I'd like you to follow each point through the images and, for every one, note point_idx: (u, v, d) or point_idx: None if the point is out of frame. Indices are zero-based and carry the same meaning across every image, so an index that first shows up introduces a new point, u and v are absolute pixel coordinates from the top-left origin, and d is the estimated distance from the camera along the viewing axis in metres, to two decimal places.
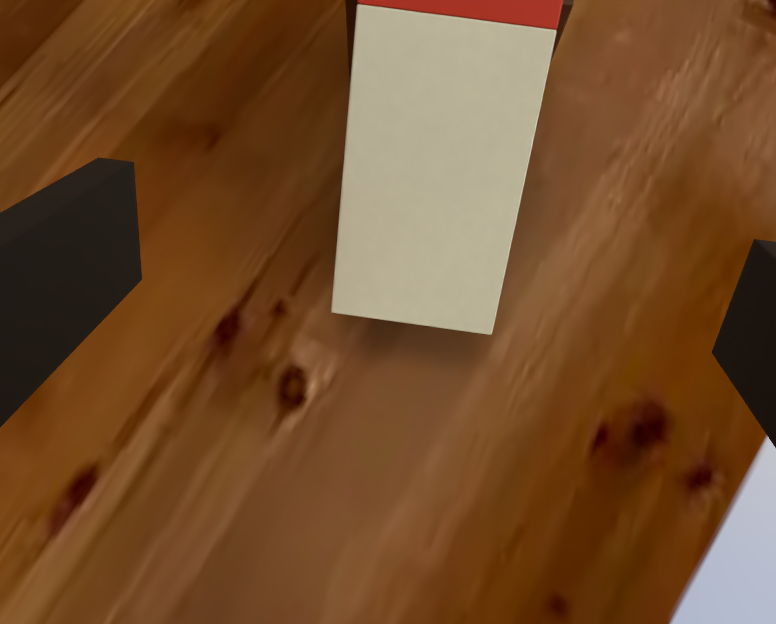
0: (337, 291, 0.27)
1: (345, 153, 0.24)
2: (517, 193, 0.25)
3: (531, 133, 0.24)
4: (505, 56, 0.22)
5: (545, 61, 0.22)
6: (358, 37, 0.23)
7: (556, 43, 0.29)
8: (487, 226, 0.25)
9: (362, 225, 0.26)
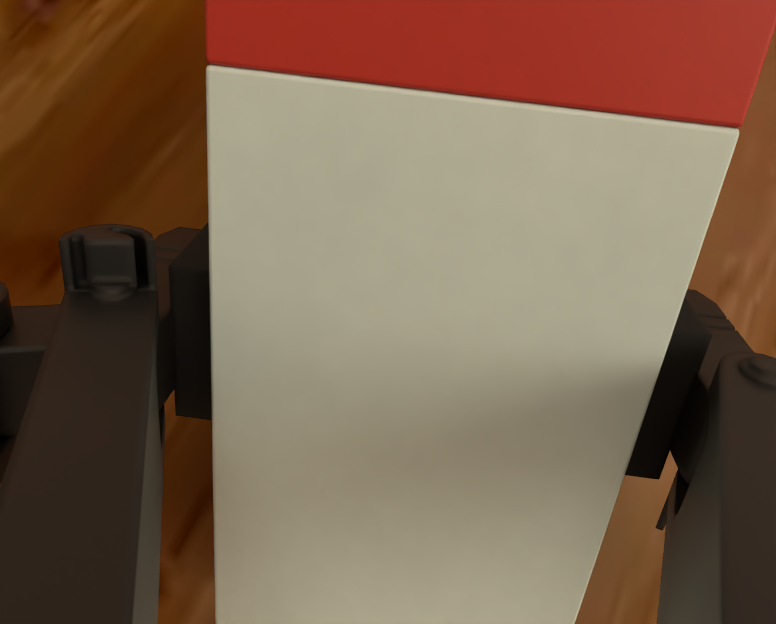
0: None
1: (213, 399, 0.11)
2: (612, 483, 0.11)
3: (654, 366, 0.10)
4: (598, 194, 0.09)
5: (704, 206, 0.09)
6: (217, 148, 0.09)
7: None
8: (539, 542, 0.11)
9: (264, 531, 0.12)
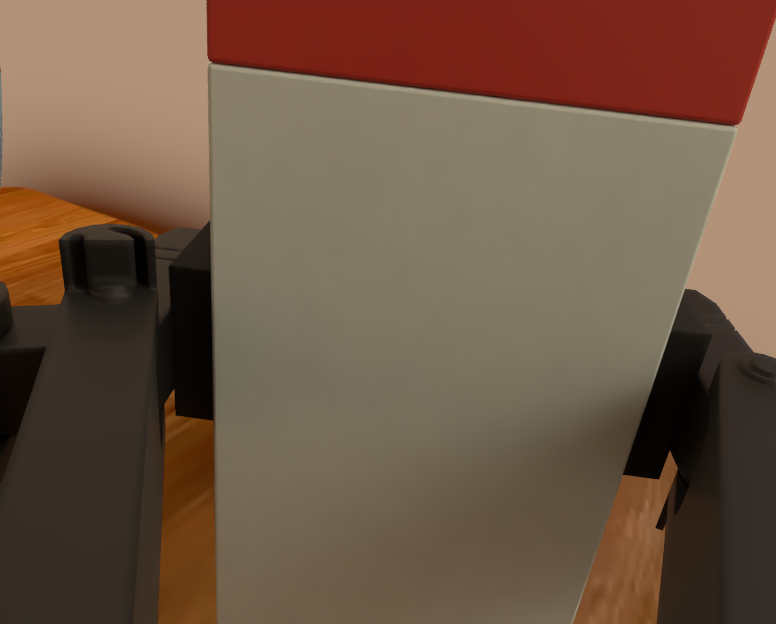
0: None
1: (214, 396, 0.11)
2: (611, 479, 0.11)
3: (653, 362, 0.10)
4: (598, 191, 0.09)
5: (702, 204, 0.09)
6: (218, 146, 0.09)
7: None
8: (539, 538, 0.11)
9: (265, 529, 0.12)
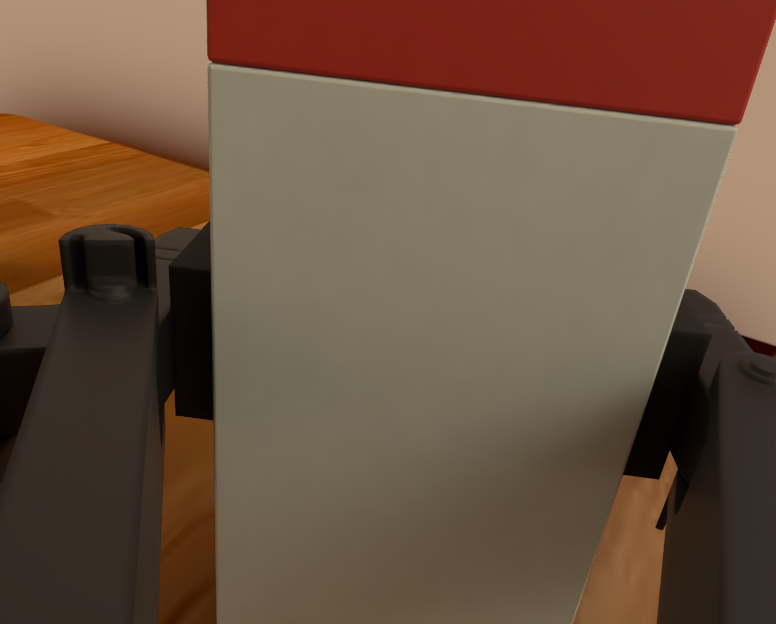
0: None
1: (214, 396, 0.11)
2: (611, 479, 0.11)
3: (653, 362, 0.10)
4: (599, 191, 0.09)
5: (703, 203, 0.09)
6: (218, 145, 0.09)
7: None
8: (539, 538, 0.11)
9: (265, 529, 0.12)
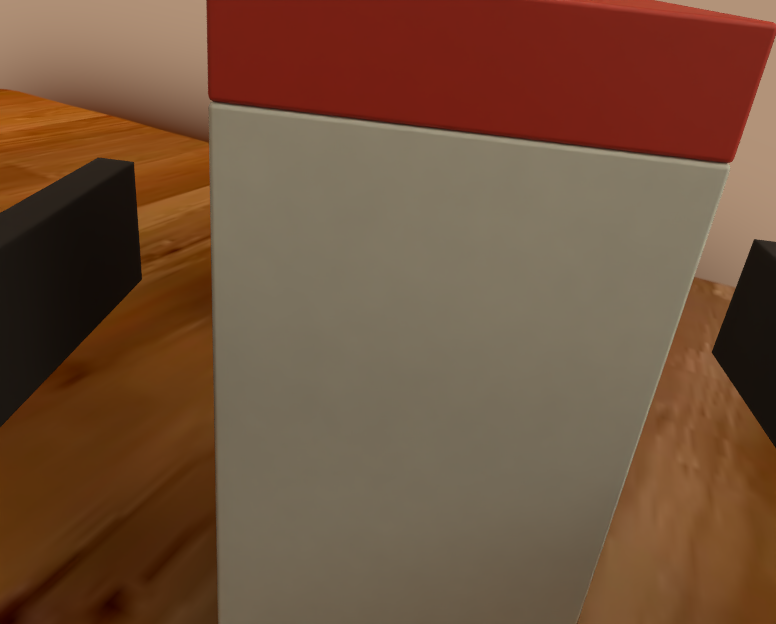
0: None
1: (216, 422, 0.11)
2: (607, 503, 0.11)
3: (648, 391, 0.10)
4: (593, 227, 0.09)
5: (696, 238, 0.09)
6: (219, 181, 0.09)
7: None
8: (537, 560, 0.12)
9: (266, 550, 0.12)
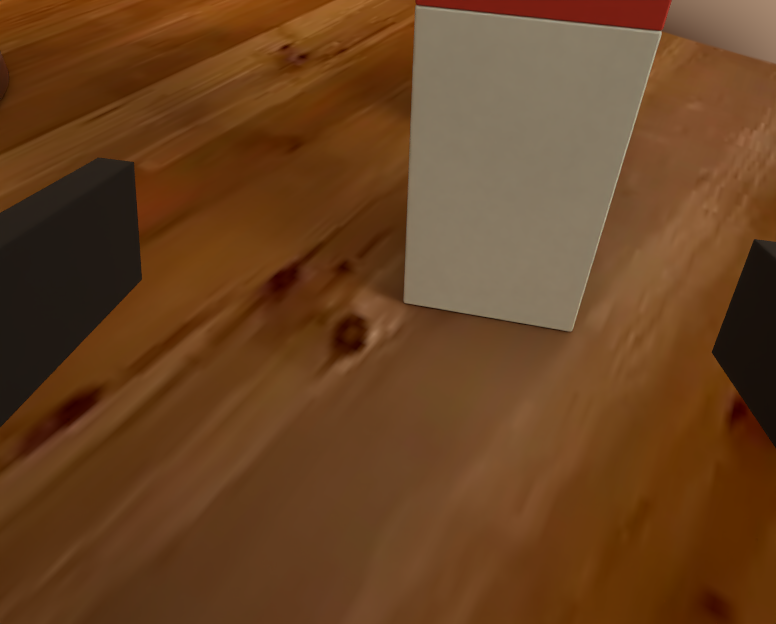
0: (408, 285, 0.26)
1: (410, 160, 0.22)
2: (604, 204, 0.22)
3: (624, 144, 0.20)
4: (595, 62, 0.19)
5: (645, 67, 0.18)
6: (418, 42, 0.19)
7: None
8: (568, 235, 0.23)
9: (431, 228, 0.24)
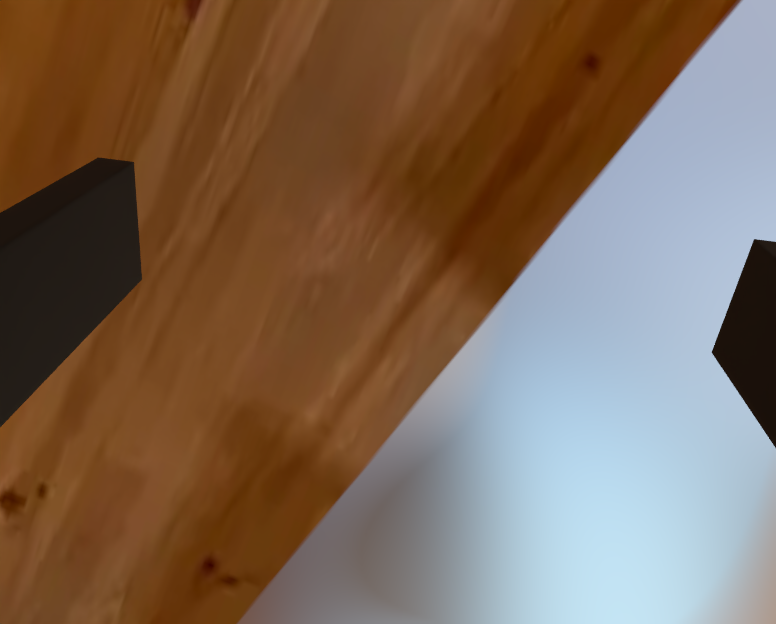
0: None
1: None
2: None
3: None
4: None
5: None
6: None
7: None
8: None
9: None
